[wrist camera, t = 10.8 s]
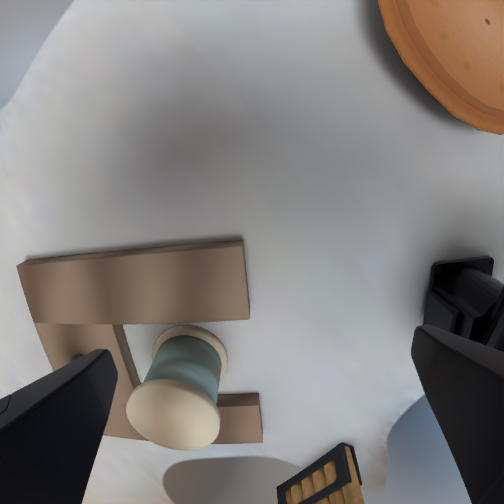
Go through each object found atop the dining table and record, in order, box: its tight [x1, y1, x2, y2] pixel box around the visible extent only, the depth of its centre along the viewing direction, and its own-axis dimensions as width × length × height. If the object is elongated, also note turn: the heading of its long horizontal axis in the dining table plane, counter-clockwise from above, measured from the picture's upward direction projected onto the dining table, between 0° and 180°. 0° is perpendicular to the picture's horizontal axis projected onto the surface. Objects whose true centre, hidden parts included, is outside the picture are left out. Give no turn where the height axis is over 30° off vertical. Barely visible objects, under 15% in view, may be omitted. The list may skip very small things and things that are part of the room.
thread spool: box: [126, 325, 228, 450], centre depth 20 cm, size 6×6×7 cm
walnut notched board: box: [17, 240, 263, 444], centre depth 21 cm, size 18×18×6 cm
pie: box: [377, 0, 504, 135], centre depth 14 cm, size 15×16×5 cm
